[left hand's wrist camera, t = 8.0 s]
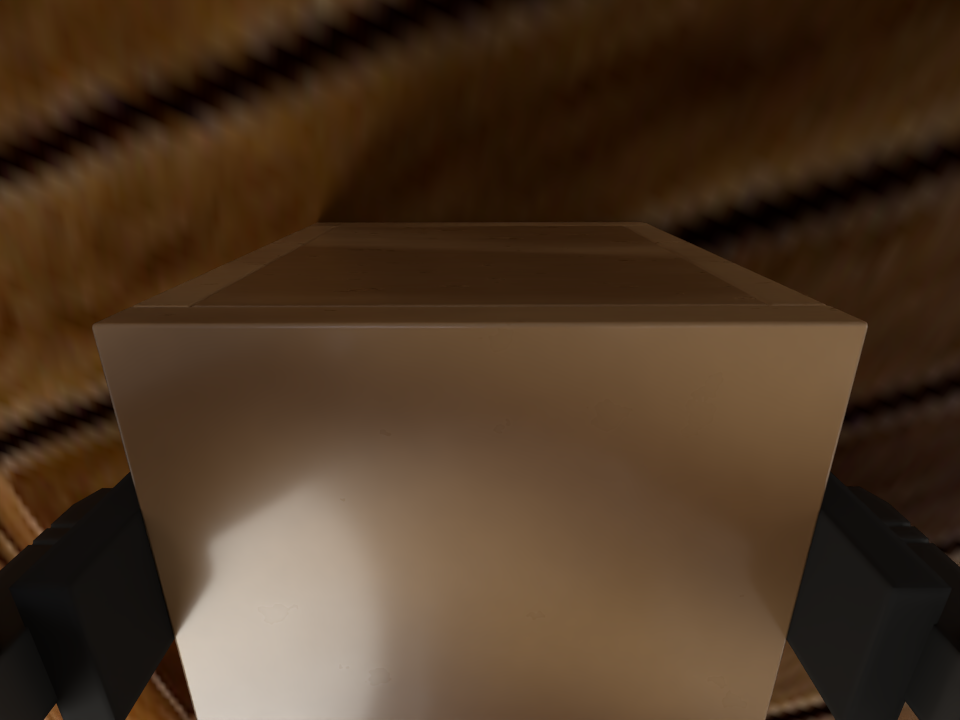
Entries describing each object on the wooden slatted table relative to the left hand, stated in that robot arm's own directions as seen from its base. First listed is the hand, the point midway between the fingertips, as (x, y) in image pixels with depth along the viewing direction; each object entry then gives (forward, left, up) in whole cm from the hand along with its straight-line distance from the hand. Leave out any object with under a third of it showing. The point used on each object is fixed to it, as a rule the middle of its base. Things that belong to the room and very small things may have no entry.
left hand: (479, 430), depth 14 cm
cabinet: (+1, +4, -6) cm, 7 cm away
